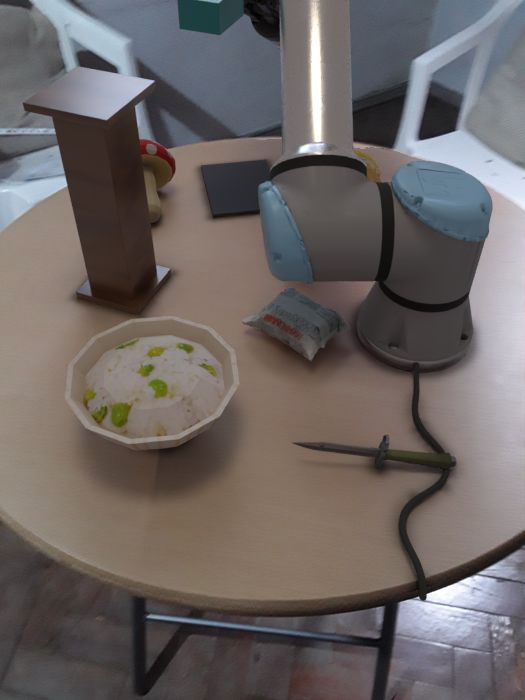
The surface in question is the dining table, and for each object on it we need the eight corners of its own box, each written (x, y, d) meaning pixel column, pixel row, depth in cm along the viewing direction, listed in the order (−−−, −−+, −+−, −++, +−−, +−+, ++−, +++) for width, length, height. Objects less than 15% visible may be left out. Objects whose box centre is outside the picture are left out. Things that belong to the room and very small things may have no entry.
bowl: (54, 483, 75) (33, 426, 68) (106, 359, 88) (93, 301, 81) (226, 504, 73) (223, 448, 66) (253, 374, 87) (252, 316, 80)
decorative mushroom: (155, 189, 102) (145, 113, 108) (98, 220, 106) (92, 145, 112) (197, 221, 111) (186, 150, 117) (144, 249, 115) (135, 178, 121)
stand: (139, 318, 94) (106, 120, 74) (71, 298, 97) (22, 102, 76) (176, 272, 101) (155, 80, 81) (112, 255, 104) (76, 65, 84)
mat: (284, 210, 113) (284, 207, 113) (213, 217, 112) (213, 214, 111) (266, 162, 124) (266, 159, 124) (201, 168, 123) (200, 165, 122)
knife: (287, 461, 76) (295, 433, 72) (288, 446, 77) (295, 418, 73) (451, 480, 77) (466, 454, 73) (448, 465, 78) (463, 439, 75)
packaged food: (310, 373, 87) (312, 346, 83) (241, 332, 92) (240, 304, 89) (349, 338, 92) (353, 311, 88) (281, 301, 97) (283, 273, 94)
